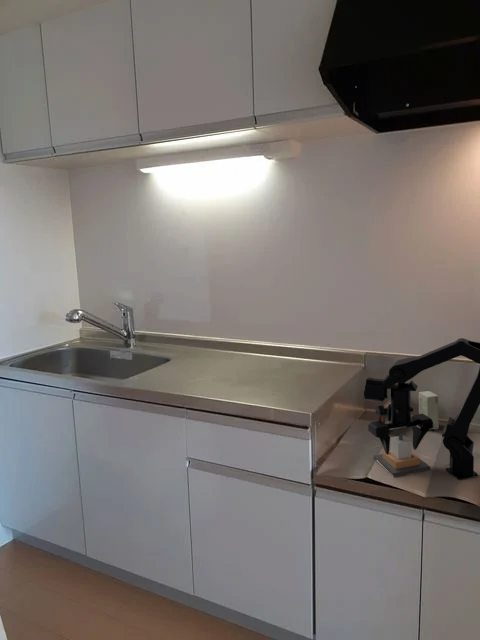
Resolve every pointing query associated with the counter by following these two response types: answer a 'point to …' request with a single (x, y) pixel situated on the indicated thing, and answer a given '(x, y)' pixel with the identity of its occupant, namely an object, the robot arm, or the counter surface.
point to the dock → (401, 464)
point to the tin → (385, 418)
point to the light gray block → (400, 447)
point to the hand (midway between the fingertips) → (400, 451)
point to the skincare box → (429, 407)
